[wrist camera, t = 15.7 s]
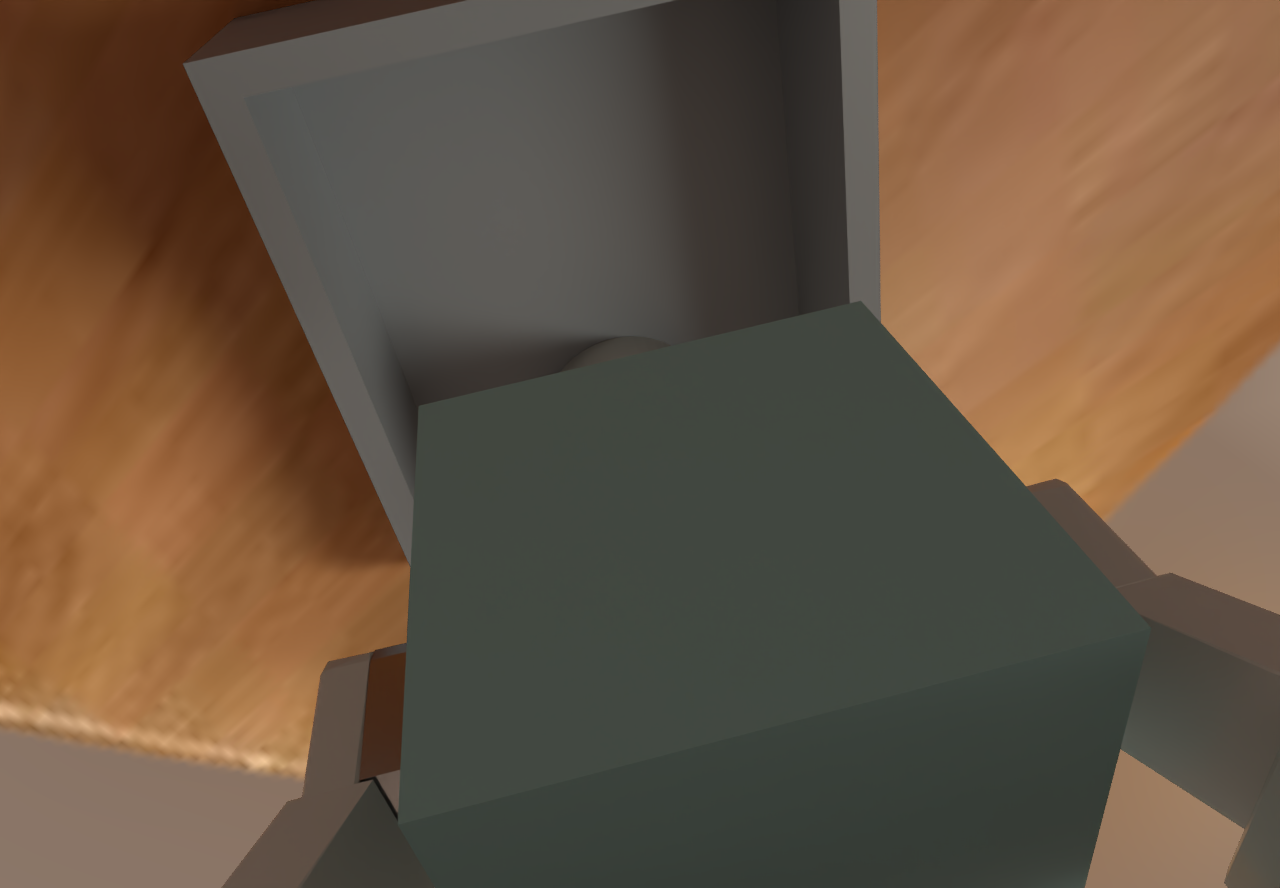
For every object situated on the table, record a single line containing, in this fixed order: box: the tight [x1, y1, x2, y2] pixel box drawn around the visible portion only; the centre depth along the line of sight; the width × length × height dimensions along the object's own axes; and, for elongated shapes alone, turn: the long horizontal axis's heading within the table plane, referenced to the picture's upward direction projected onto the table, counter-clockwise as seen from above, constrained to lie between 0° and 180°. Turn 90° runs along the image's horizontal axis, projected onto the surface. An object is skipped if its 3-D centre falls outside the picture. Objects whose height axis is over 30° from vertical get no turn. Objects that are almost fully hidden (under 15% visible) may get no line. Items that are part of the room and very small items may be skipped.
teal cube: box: [398, 301, 1151, 888], centre depth 9 cm, size 5×5×5 cm
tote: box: [183, 0, 881, 567], centre depth 24 cm, size 18×14×5 cm
